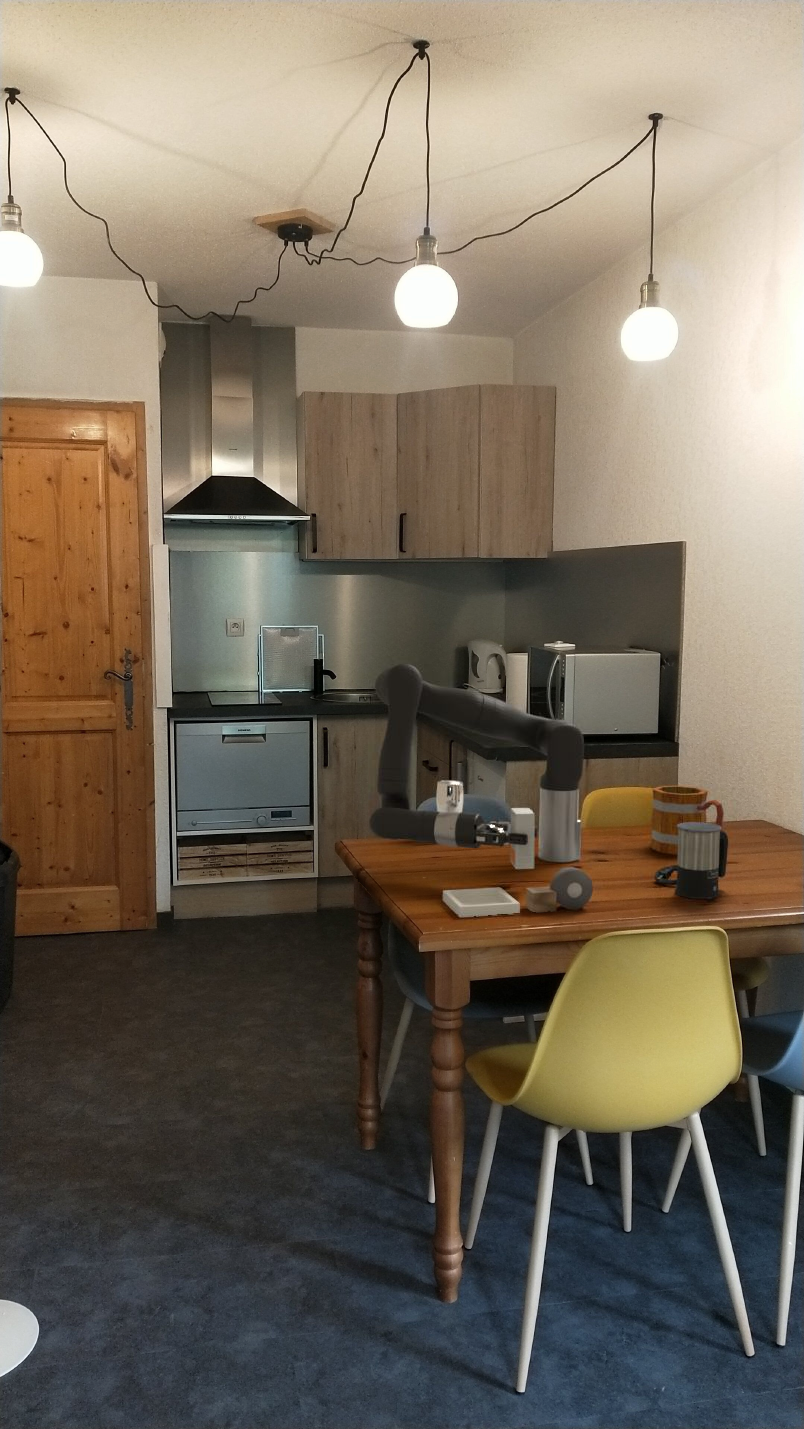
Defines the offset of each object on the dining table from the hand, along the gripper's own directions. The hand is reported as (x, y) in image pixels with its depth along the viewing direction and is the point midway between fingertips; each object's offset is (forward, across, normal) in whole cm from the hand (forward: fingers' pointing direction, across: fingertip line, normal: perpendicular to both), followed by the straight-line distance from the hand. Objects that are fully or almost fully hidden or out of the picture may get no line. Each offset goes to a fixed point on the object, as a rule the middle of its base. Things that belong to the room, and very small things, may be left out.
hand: (532, 835), depth 233 cm
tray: (-6, -16, +12) cm, 21 cm away
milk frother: (+30, +16, +13) cm, 36 cm away
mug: (+25, +53, +13) cm, 60 cm away
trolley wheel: (+11, -8, +12) cm, 18 cm away
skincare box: (-2, 0, +7) cm, 7 cm away
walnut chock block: (+5, -12, +12) cm, 18 cm away
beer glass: (-33, +40, +13) cm, 54 cm away
